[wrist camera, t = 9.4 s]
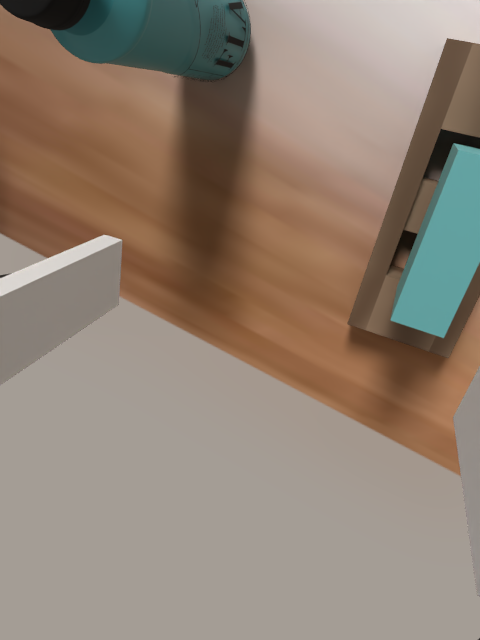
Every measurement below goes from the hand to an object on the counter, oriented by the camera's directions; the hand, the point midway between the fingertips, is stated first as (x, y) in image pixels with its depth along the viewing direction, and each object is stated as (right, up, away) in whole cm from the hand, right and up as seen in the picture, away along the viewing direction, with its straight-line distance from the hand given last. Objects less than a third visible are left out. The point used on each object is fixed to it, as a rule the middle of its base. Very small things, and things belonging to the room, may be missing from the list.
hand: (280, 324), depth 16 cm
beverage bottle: (-3, +22, +19) cm, 29 cm away
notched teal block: (+14, +8, +18) cm, 24 cm away
